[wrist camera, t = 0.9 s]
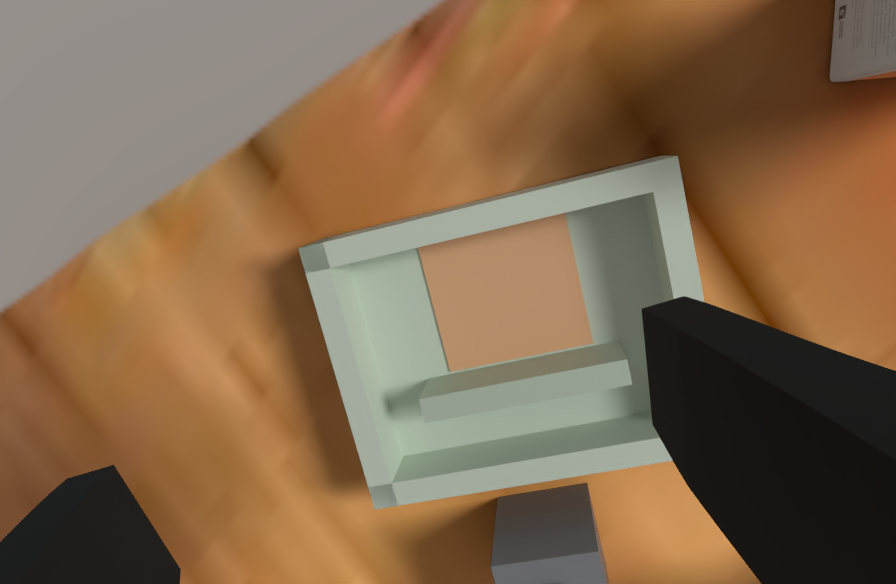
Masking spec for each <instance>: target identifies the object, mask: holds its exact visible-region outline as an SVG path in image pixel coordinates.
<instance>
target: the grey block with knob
mask: <svg viewBox="0 0 896 584" xmlns="http://www.w3.org/2000/svg"><path fill="white" fill-rule="evenodd" d="M491 570H492V574H493V577H494V581H495V584H609V580H608V575H607V569H606V564H605V559H604V555H603V550H602V546H601V542H600V537H599V533H598V528H597V524H596V520H595V515H594V511H593V506H592V502H591V498H590V493H589V489H588V484H587V483H583V484H577V485H570V486H564V487H558V488H552V489H546V490H540V491H533V492H527V493H521V494H515V495H509V496H502V497H498V499H497V509H496V519H495V529H494V539H493V549H492V559H491Z"/></svg>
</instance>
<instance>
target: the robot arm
mask: <svg viewBox="0 0 896 584" xmlns="http://www.w3.org/2000/svg"><path fill="white" fill-rule="evenodd" d="M642 320H643V330H644V341H645V351H646V362H647V372H648V382H649V393H650V403H651V414H652V424H653V426H654V428H655V430H656V432H657V433H658V435H659V437H660V439H661V441H662V442H663V444H664V446H665V448H666V449H667V451H668V453H669V455H670V457H671V458H672V460H673V462H674V463H675V465H676V467H677V468H678V470H679V472H680V473H681V475H682V477H683V478H684V480H685V482H686V483H687V485H688V487H689V488H690V489H691V491H692V492H693V494H694V495H695V496H696V498H697V499H698V500H699V502H700V503H701V504H702V506H703V507H704V508H705V510H706V511H707V512H708V514H709V515H710V516H711V518H712V519H713V520H714V522H715V523H716V524H717V526H718V527H719V528H720V530H721V531H722V532H723V534H724V535H725V536H726V538H727V539H728V540H729V541H730V543H731V544H732V545H733V547H734V548H735V549H736V551H737V552H738V553H739V555H740V556H741V557H742V558H743V560H744V561H745V562H746V564H747V565H748V566H749V568H750V569H751V570H752V572H753V573H754V574H755V576H756V577H757V578H758V579H759V581H760V582H761V583H762V584H896V371H894V370H891V369H888V368H885V367H882V366H879V365H876V364H873V363H870V362H867V361H864V360H861V359H858V358H855V357H852V356H849V355H846V354H844V353H841V352H838V351H835V350H832V349H829V348H827V347H824V346H821V345H818V344H816V343H813V342H810V341H807V340H804V339H802V338H799V337H796V336H794V335H791V334H788V333H786V332H783V331H780V330H778V329H775V328H772V327H770V326H767V325H764V324H762V323H759V322H756V321H754V320H751V319H748V318H746V317H743V316H740V315H738V314H735V313H732V312H730V311H727V310H724V309H722V308H719V307H716V306H713V305H710V304H708V303H705V302H702V301H699V300H696V299H692V298H689V297H686V296H683V297H679V298H676V299H672V300H669V301H666V302H662V303H659V304H656V305H652V306H649V307H645V308H642ZM0 584H180V568H179V566H178V565H177V563H176V562H175V560H174V558H173V557H172V555H171V554H170V552H169V551H168V549H167V548H166V546H165V544H164V543H163V541H162V540H161V538H160V537H159V535H158V533H157V532H156V530H155V529H154V527H153V526H152V524H151V523H150V521H149V519H148V518H147V516H146V515H145V513H144V512H143V510H142V508H141V507H140V505H139V504H138V502H137V501H136V499H135V498H134V496H133V494H132V493H131V491H130V490H129V488H128V487H127V485H126V484H125V482H124V480H123V479H122V477H121V476H120V474H119V473H118V471H117V469H116V468H115V466H114V465H112V466H109V467H105V468H102V469H99V470H95V471H92V472H88V473H85V474H82V475H78V476H75V477H72V478H68V479H66V480H65V481H64V482H63V483H62V484H60V485H59V486H58V487H57V488H56V489H55V490H54V491H52V492H51V493H50V494H49V495H48V496H47V497H46V498H45V499H44V500H43V501H41V502H40V503H39V504H38V505H37V506H36V507H35V508H34V509H33V510H32V511H31V512H30V513H29V514H28V515H27V516H26V517H25V518H24V519H23V520H22V521H21V522H20V523H19V524H18V525H17V526H16V527H15V528H14V529H13V530H12V531H11V532H10V533H9V534H8V535H7V536H6V537H5V538H4V539H3V540H2V541H1V542H0Z"/></svg>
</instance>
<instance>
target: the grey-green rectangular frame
mask: <svg viewBox="0 0 896 584" xmlns="http://www.w3.org/2000/svg"><path fill="white" fill-rule="evenodd" d="M298 250H299V253H300V256H301V260H302V263H303V267H304V270H305V273H306V277H307V280H308V284H309V287H310V290H311V294H312V297H313V301H314V304H315V307H316V311H317V314H318V318H319V321H320V325H321V328H322V331H323V335H324V338H325V342H326V345H327V348H328V352H329V355H330V359H331V362H332V365H333V369H334V372H335V376H336V379H337V382H338V386H339V389H340V393H341V396H342V400H343V403H344V406H345V410H346V413H347V417H348V420H349V423H350V427H351V430H352V434H353V437H354V440H355V444H356V447H357V451H358V454H359V457H360V461H361V464H362V468H363V471H364V475H365V478H366V481H367V485H368V488H369V492H370V495H371V498H372V502H373V505H374V509H381V508H387V507H393V506H399V505H405V504H411V503H417V502H423V501H429V500H436V499H442V498H448V497H454V496H460V495H466V494H472V493H478V492H484V491H491V490H497V489H503V488H509V487H515V486H521V485H527V484H533V483H539V482H546V481H552V480H558V479H564V478H570V477H576V476H582V475H588V474H594V473H601V472H607V471H613V470H619V469H625V468H631V467H637V466H643V465H649V464H656V463H662V462H668V461H673V460H672V458H671V457H670V455H669V453H668V451H667V449H666V448H665V446H664V444H663V442H662V441H661V439H660V437H659V435H658V433H657V432H656V430H655V428H654V426H653V424H652V414H651V403H650V393H649V382H648V372H647V362H646V351H645V341H644V330H643V320H642V308H645V307H649V306H652V305H656V304H659V303H662V302H666V301H669V300H672V299H676V298H679V297H683V296H686V297H689V298H692V299H696V300H699V301H702V302H704V297H703V291H702V286H701V280H700V275H699V269H698V264H697V258H696V253H695V247H694V242H693V236H692V231H691V225H690V220H689V214H688V209H687V204H686V198H685V193H684V187H683V182H682V176H681V171H680V165H679V160H678V156H657V157H653V158H649V159H645V160H641V161H637V162H633V163H629V164H625V165H621V166H617V167H613V168H608V169H604V170H600V171H596V172H592V173H588V174H584V175H580V176H576V177H572V178H568V179H564V180H560V181H556V182H551V183H547V184H543V185H539V186H535V187H531V188H527V189H523V190H519V191H515V192H511V193H507V194H503V195H498V196H494V197H490V198H486V199H482V200H478V201H474V202H470V203H466V204H462V205H458V206H454V207H450V208H446V209H441V210H437V211H433V212H429V213H425V214H421V215H417V216H413V217H409V218H405V219H401V220H397V221H393V222H388V223H384V224H380V225H376V226H372V227H368V228H364V229H360V230H356V231H352V232H348V233H344V234H340V235H336V236H331V237H327V238H323V239H321V240H318V241H316V242H313V243H311V244H308V245H306V246H303V247H301V248H298Z"/></svg>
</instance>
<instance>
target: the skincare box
mask: <svg viewBox="0 0 896 584" xmlns="http://www.w3.org/2000/svg"><path fill="white" fill-rule="evenodd" d="M889 77H896V0H835V14H834V26H833V40H832V53H831V65H830V80H831V81H832V82H842V81H852V80H865V79H877V78H889Z"/></svg>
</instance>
